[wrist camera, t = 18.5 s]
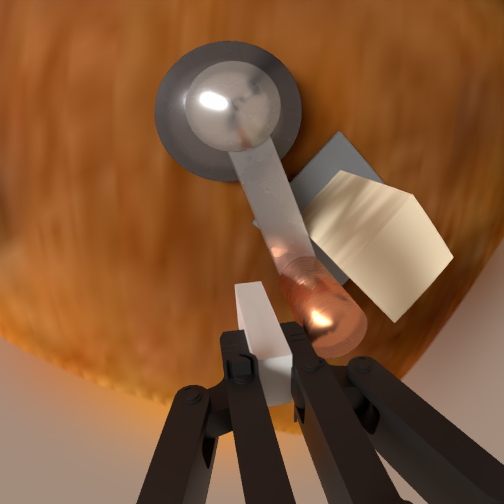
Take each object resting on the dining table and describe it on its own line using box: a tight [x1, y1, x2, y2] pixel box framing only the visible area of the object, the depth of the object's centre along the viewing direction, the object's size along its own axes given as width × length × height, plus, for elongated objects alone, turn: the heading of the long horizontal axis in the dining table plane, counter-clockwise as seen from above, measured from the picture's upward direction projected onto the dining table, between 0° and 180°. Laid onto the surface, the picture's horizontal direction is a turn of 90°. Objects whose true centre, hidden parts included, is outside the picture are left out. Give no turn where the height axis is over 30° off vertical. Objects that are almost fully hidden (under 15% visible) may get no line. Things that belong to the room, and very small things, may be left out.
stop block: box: [300, 170, 453, 323], centre depth 19 cm, size 5×5×9 cm
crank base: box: [155, 41, 302, 182], centre depth 19 cm, size 9×9×2 cm
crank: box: [185, 61, 368, 358], centre depth 16 cm, size 15×5×8 cm, turn 22°
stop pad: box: [253, 131, 385, 286], centre depth 24 cm, size 9×9×1 cm
